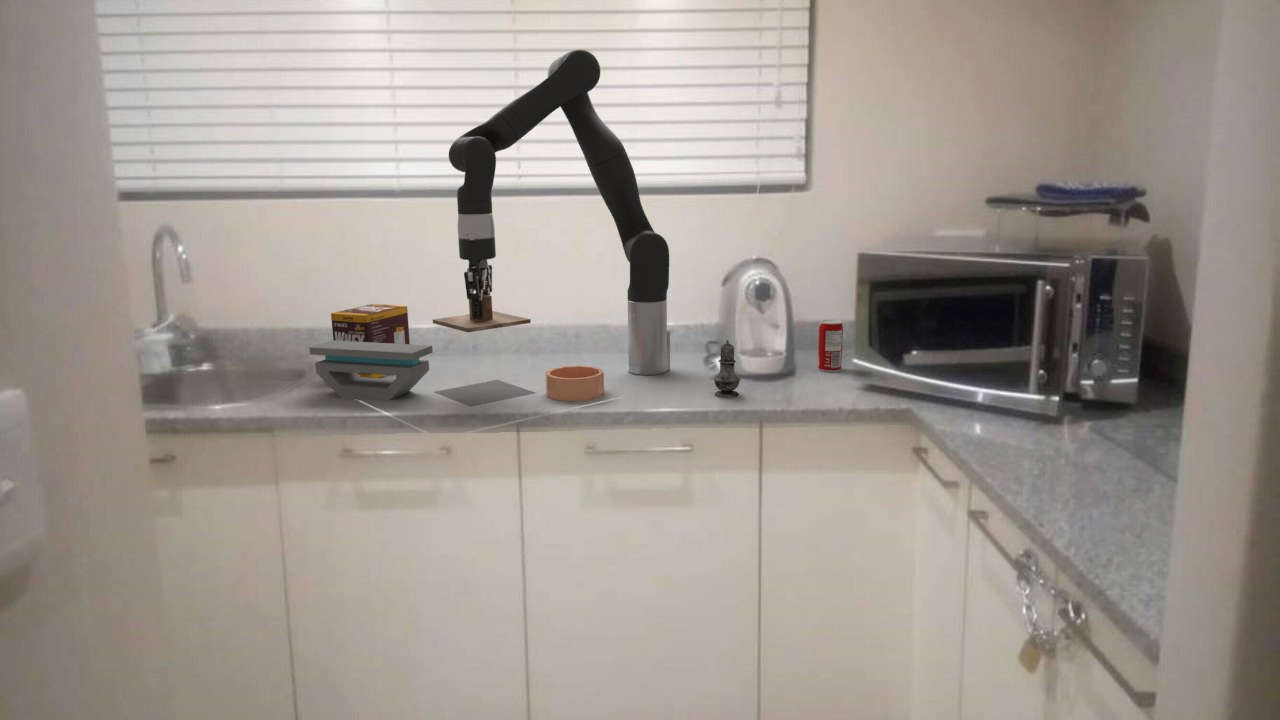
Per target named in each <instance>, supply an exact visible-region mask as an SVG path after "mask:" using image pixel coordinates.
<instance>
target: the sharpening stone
mask: <svg viewBox="0 0 1280 720" xmlns="http://www.w3.org/2000/svg"><path fill="white" fill-rule="evenodd" d="M308 349H309V355H311V356H313V355H315V356H317V355H318V356H324V358H325V359H322V360H319V361H317V362H314V363H315V373H316V375H318V376H319V377H320V378H321V379H322V381H324V382H325V384H327V385H328V387H330V389H331V390H333V392H335V394H336V395H337V396H338V397H339V398H340V399H341V400H342V399H343V400H355V401H356V400H359V401H361V399H365V400H366V399H369V400H383V401H384V400H385V401H391V400H393V399H395V398H397V397H400V396H401V395H404V394H406V393H408V392H411V390H412V389H413V388H414V387H415V386H416V384H417V385H418V383H419V381H420V380H422V378H424V376H425V375H426V374H427V373H429V371H430V363H429V360H427V359H421V358H422V357H426V356H427V355H430V354H432V353H433V345H428V344H427V345H426V344H392V343H373V342H353V341H334V340H333V339H331V340H329V341H325V342H322V343H319V344H316V345H313V346H310V347H309V348H308ZM358 373H367V374H383V375H387V376H396V378H394V379H392V378H365V377H361V376H360V375H359V374H358Z"/></svg>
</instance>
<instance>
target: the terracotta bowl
mask: <svg viewBox="0 0 1280 720" xmlns="http://www.w3.org/2000/svg"><path fill="white" fill-rule="evenodd" d="M604 376H605V375H604V371H603V369H602V368H598V367H595V366H589V365H588V366H587V365H570V366H569V365H567V366H566V365H565V366H560V367H554V368H551V369H549V370H547V371H545V388H546V391H545V392H546V396H547V398H551V399H553V400H556V401H568V402H577V401H588V400H592V399H597V398H600V396H602V395H604V394H605V385H604V384H605V380H604Z"/></svg>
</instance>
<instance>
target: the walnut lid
mask: <svg viewBox="0 0 1280 720" xmlns="http://www.w3.org/2000/svg"><path fill="white" fill-rule="evenodd" d="M492 300H493V299H492V295H490V296H489V295H484V294H483V299H482V302H483V318H482V319H473V318H472V306H471V301H470V299H468V310H469V314H463V315H456V316H454V315H453V316H449V317H441V318H435V319H434V318H433V319H432V324H434V325H439V326H442V327H447V328H449V329H453V330H458V331H461V332H465V333H473V332H474V333H475V332H480V331H487V330H492V329H494V330H495V329H500V328H506V327H512V326H519V325H526V324H531V318H526V317H522V316H517V315H512V314H509V313H505V312H504V313H503V312H498V311H493V301H492Z"/></svg>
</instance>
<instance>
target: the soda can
mask: <svg viewBox="0 0 1280 720" xmlns="http://www.w3.org/2000/svg"><path fill="white" fill-rule="evenodd" d="M842 323H843V321H842V320H838V319H821V320H820V324H819V326H818V345H817V346H818V348H817V368H818V370H819V371H821V372H825V373H835V372H839V371H840V370H841V369H842V357H843V337H844V334H843V333H844V331H843V330H844V327H843V324H842Z"/></svg>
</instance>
